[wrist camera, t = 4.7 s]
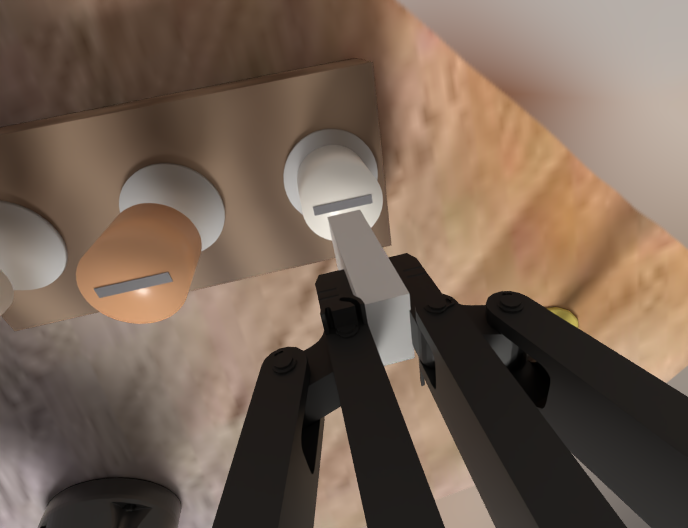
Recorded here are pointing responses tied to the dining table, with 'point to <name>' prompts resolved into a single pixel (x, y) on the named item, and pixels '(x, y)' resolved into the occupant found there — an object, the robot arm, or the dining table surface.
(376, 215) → the knob
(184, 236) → the knob middle
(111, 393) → the dining table surface
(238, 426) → the dining table surface
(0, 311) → the knob
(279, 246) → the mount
